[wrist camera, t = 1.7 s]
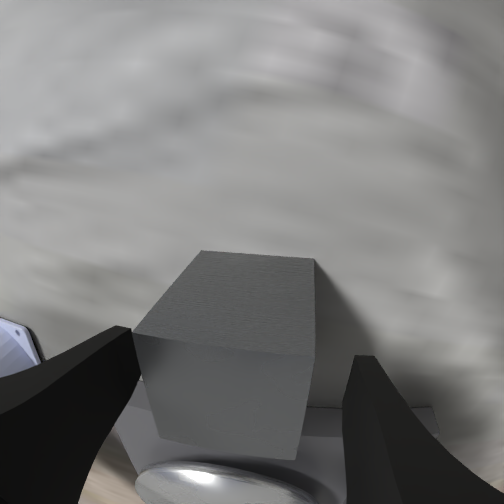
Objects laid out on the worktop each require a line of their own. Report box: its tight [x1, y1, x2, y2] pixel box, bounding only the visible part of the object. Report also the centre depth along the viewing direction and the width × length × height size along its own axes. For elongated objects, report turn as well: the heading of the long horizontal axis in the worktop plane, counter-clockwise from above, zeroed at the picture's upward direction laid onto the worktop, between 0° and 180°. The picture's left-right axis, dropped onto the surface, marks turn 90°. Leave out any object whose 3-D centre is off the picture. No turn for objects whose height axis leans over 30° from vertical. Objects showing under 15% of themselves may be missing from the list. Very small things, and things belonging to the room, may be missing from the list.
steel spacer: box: [132, 250, 315, 460], centre depth 11 cm, size 4×4×6 cm
